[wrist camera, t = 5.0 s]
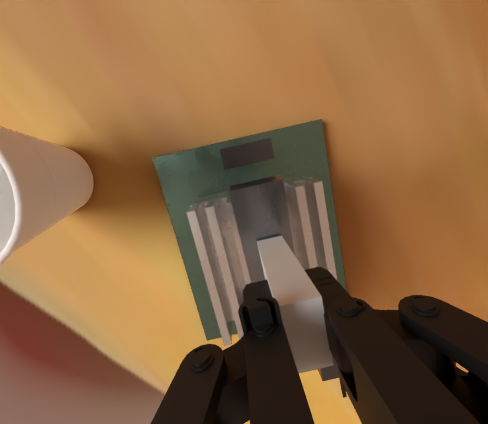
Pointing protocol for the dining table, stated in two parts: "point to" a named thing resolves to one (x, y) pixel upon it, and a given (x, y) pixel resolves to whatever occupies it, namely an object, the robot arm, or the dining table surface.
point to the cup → (37, 187)
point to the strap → (260, 218)
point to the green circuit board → (224, 223)
